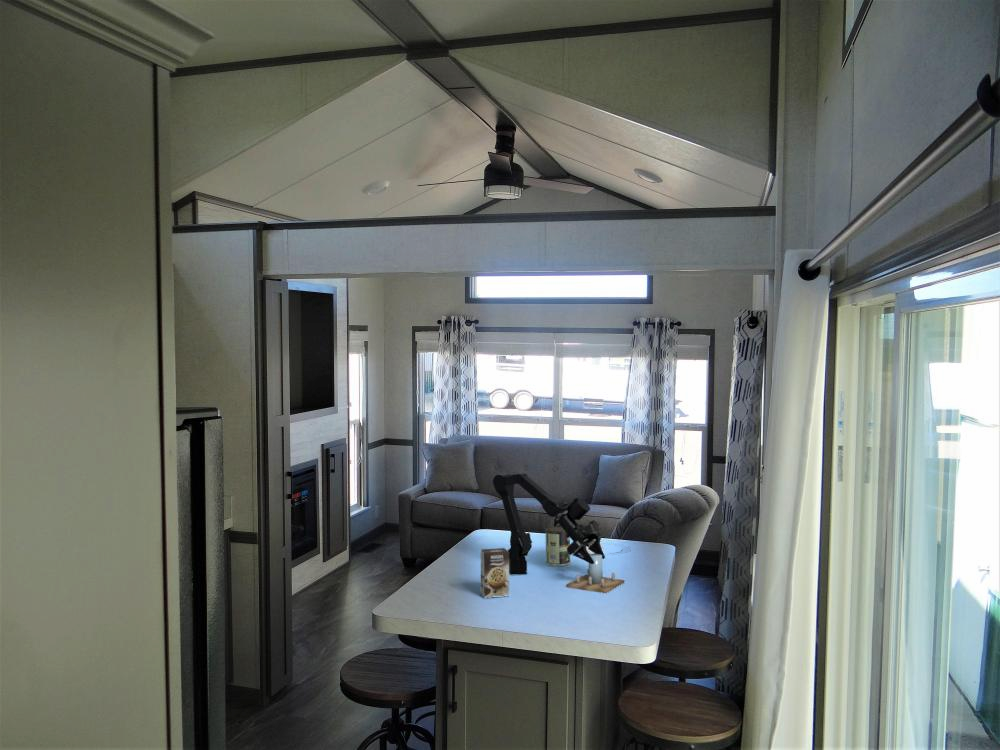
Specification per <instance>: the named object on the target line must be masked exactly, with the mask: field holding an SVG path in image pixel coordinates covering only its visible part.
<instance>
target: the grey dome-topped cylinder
mask: <svg viewBox="0 0 1000 750" xmlns="http://www.w3.org/2000/svg"><path fill="white" fill-rule="evenodd" d="M590 556H591V557H592V559H593V561H594V564H590V563H588V569H589V577H592V584H601V578H602V571H603V559H602V555H601V554H590Z"/></svg>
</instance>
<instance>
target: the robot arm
mask: <svg viewBox="0 0 1000 750" xmlns="http://www.w3.org/2000/svg"><path fill="white" fill-rule="evenodd" d="M515 485H519V486H520V487H521V488H522V489H523V490H524V491H526V492H527V493H528V494H529V495H530V496H532V497H533V498H534V499H535V500H536V501H537V502H538V503H539V504H540V505H541V508H542V509H543V510H544V511H545V513H546V514H547V515H548V516H549V517H550V518H551V517H552V518H553V517H557V518H554V520H553V521H554V523H553V527H562V528H563V529H564V531H565V532H566V533H567V534H568V535H567V536H566V537H567V538H569V537H570V540H571V541H572V542H570V545H569V546H568V547H567V552H568V553H569V554H570V556H573V557H576V558H578V559H581V560H582V561H585V562H587V563H588V564H589V563H590V564H594V561H593V559H592V557H591V556H590V554H589V553H588V551H587V550H586V546H587V547H589V548H588V549H589V550H591V551H592V552H593V553H595V554H601V555H602V560H604V559H605V558H606V557H605V556H606V554H605V555H604V553H603V551H602V548H601V546H600V544H601V542H600V541H601V540H602V534H601V533H600V528H599V526H600V524H599V523H598V522H597V521H596V520H595V519H593V520H591V521H589V523H588V525H583V524H579V523H578V522H577V521H581V520H582V519H583V518H584V516H586V515H587V514H588V513H589V512H590V510H591V507H590V505H589V503H588V502H586V501H585V500H584V499H582V498H581V497H579V496H578V497H575V498H574V499H573V501H572V502H570V503H565V501H563V500H562V499H560V498H559V497H557V496H555V495H552V494H550V493H548V492H547V491H545V490H544V489H543V488H542V487H541V486H540V485H539V484H538V483H537V482H535V481H534V480H533V479H532V478H531V477H529V476H528V474H527V473H525V472H520V473H514V474H511V473H509V472H504V473H500V474H496V475H495V476H494V477H493V479H492V486H493V488H494V490H495V491H496V494H498V495H499V497H500V498H501V501H502V506H503V509H504V512H505V516H506V519H507V523H508V527H509V531H510V538H509V545H510V547H509V549H507V550H508V551H509V575H511V574H518V575H527V574H528V561H527V560H526V557H527V556H528V555H529V552H530V551H531V549H532V544H533V541H532V539H531V533H530V532H525V530H524V528H523V526H522V521H521V518H520V515H519V511H518V508H517V504H516V500H515V497H514V490H515ZM564 513H565V514H564ZM558 516H559V517H558ZM574 552H575V553H574Z"/></svg>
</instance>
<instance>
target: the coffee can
mask: <svg viewBox="0 0 1000 750" xmlns="http://www.w3.org/2000/svg"><path fill="white" fill-rule="evenodd" d="M544 532H545V564H546V565H548V566H553V567H554V566H555V567H563V566H565V567H566V566H569V565H570V564H571V555H570V554H569V553H568V552H567V547H568V546H569V545H570V544H571V538H570V537H569V538H567V537H566V536H567V535H568V534H567V533H566V532H565V531H564V529H563V528H562V527H561V526H555V527H554V526H549V527H546V528H545V529H544Z"/></svg>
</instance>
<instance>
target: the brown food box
mask: <svg viewBox="0 0 1000 750" xmlns="http://www.w3.org/2000/svg"><path fill="white" fill-rule="evenodd" d="M508 550H509V549H506V548H505V547H503V548H502V547H501V548H487V549H485V548H484V549H483V548H482V549H480V594H481V593H482V595H483V596H484V597H493V596H504V595H509V596H510V573H509V551H508ZM482 595H481V596H482ZM483 596H482V597H483ZM484 597H483V598H484Z"/></svg>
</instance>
